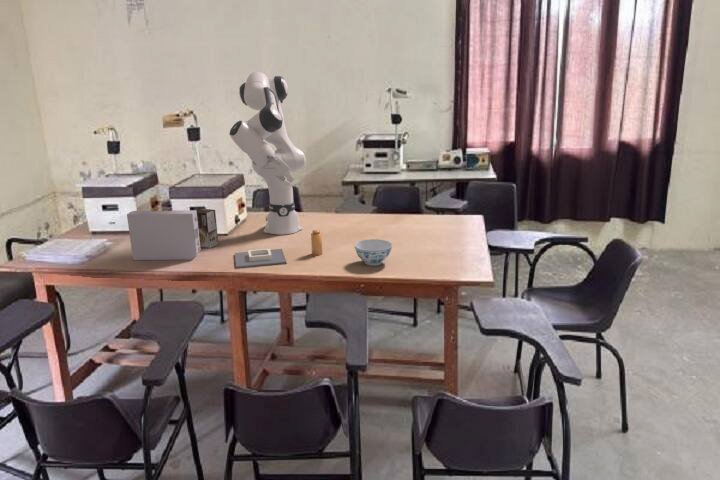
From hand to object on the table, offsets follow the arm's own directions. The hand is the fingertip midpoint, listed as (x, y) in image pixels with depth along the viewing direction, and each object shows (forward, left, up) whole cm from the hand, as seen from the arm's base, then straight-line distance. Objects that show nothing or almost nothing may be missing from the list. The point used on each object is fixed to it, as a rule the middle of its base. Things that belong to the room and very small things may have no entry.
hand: (288, 180), depth 238 cm
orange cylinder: (0, +11, -32) cm, 34 cm away
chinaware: (+18, +31, -32) cm, 48 cm away
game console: (-13, -51, -33) cm, 62 cm away
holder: (0, -13, -32) cm, 35 cm away
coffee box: (-27, -35, -32) cm, 55 cm away
